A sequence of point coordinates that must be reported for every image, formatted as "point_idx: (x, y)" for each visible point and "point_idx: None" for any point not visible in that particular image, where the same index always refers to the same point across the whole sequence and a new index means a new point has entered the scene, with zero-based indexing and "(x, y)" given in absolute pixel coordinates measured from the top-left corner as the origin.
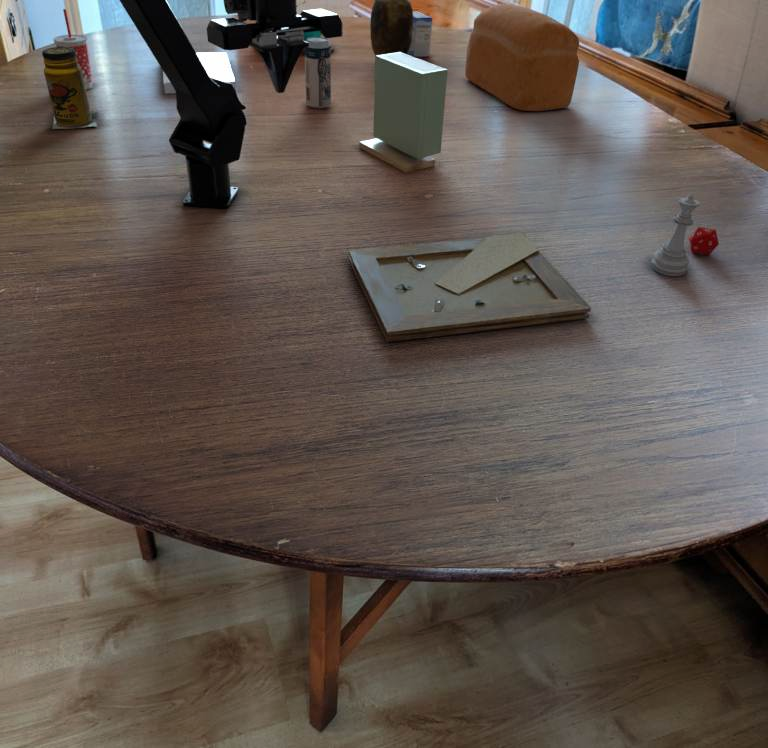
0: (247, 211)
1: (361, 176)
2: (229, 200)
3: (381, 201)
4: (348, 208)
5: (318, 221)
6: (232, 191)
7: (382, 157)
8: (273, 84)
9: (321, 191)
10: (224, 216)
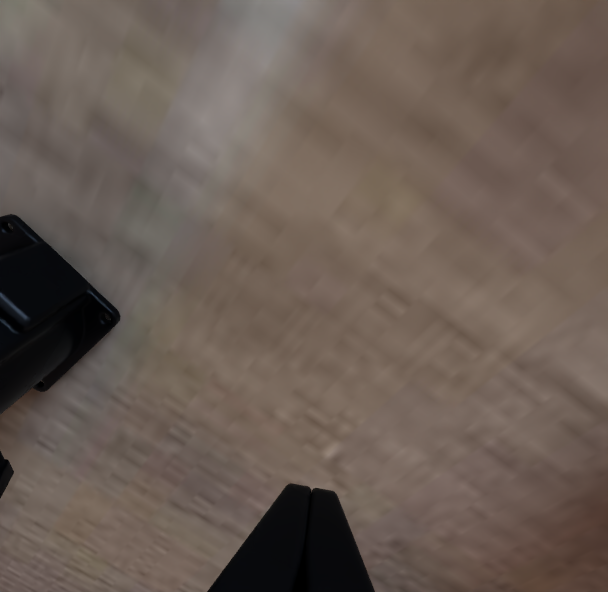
0: (92, 423)
1: (513, 456)
2: (59, 374)
3: (413, 577)
4: None
5: (213, 551)
6: (90, 332)
7: None
8: (261, 525)
9: (332, 455)
10: (29, 410)
